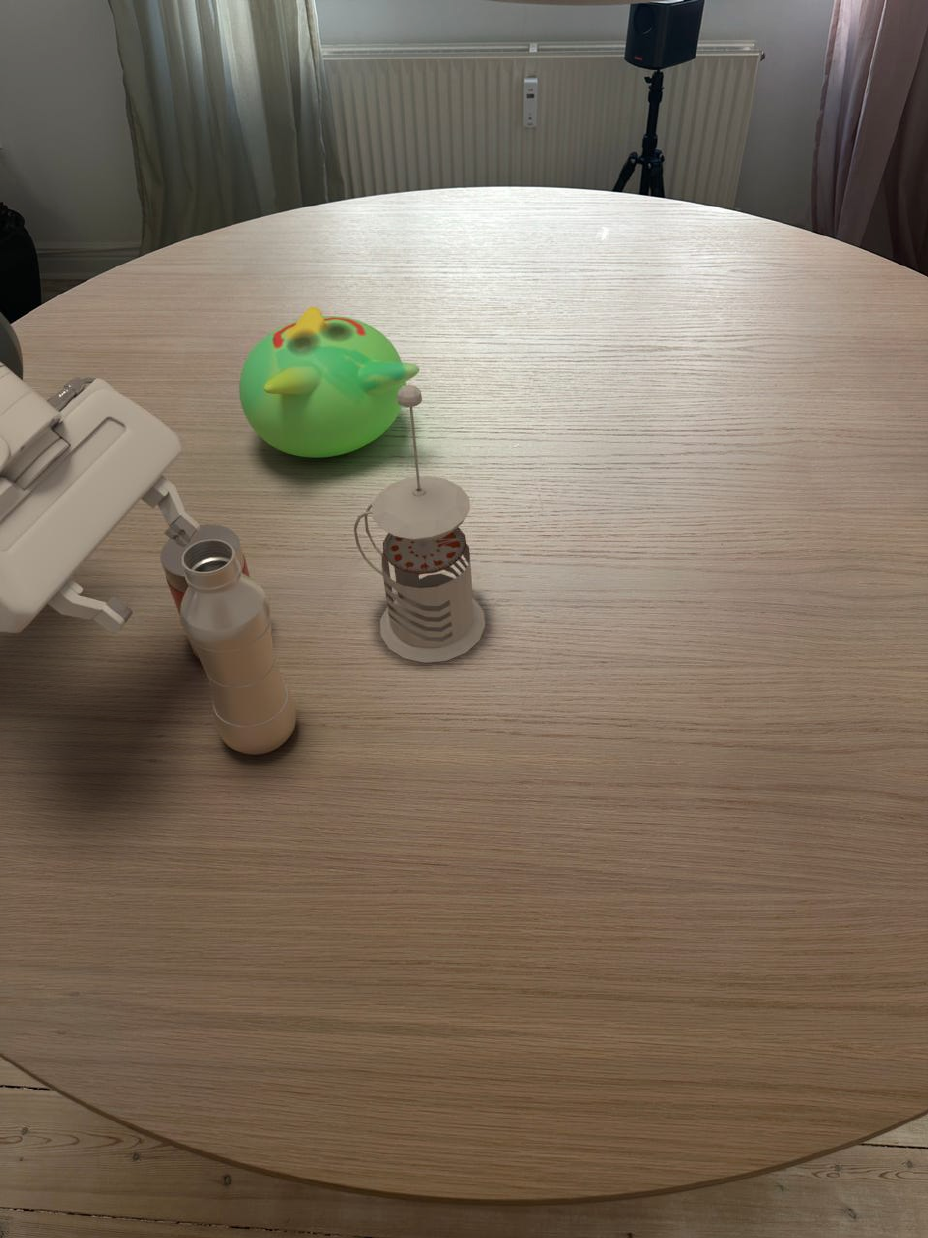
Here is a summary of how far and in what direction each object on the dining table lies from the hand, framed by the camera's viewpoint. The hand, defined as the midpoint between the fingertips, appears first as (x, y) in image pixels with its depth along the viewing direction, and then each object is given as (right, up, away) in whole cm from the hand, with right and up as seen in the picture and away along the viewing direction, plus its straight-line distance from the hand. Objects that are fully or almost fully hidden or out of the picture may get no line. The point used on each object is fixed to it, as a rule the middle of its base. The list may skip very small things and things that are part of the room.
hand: (159, 579), depth 71 cm
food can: (0, -5, +19) cm, 20 cm away
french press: (+18, -3, +20) cm, 27 cm away
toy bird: (+7, +17, +40) cm, 44 cm away
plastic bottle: (+5, -13, +11) cm, 18 cm away
